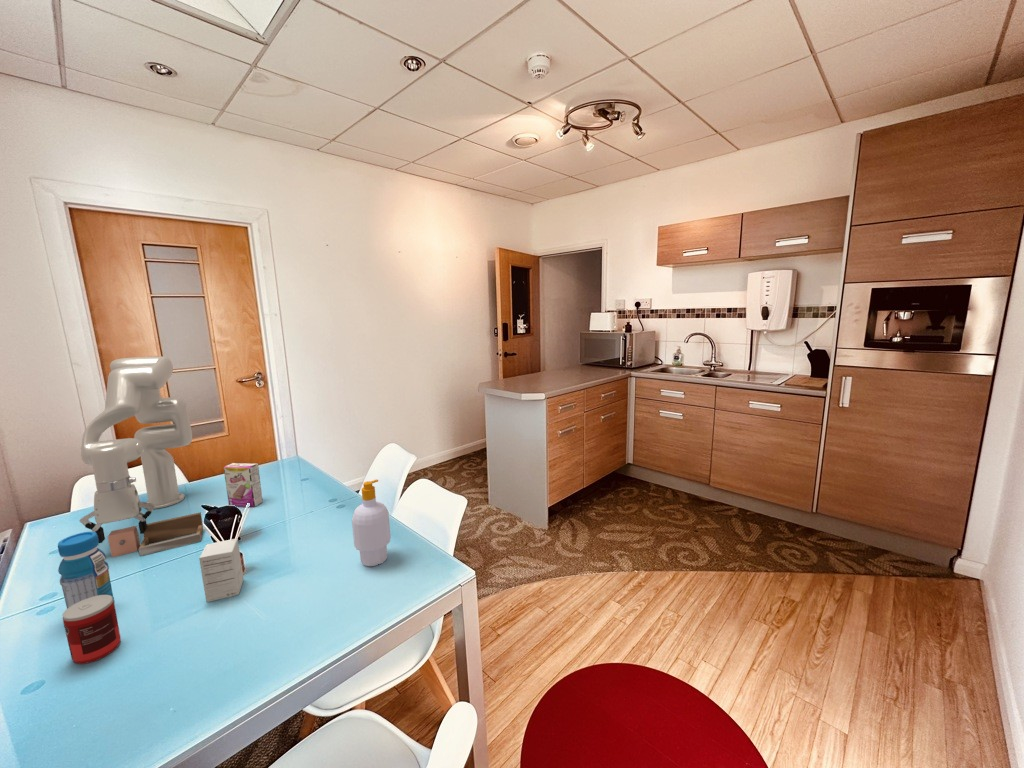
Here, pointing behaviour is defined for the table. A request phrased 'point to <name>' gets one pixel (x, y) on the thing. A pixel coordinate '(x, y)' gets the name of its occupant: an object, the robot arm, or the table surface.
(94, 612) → the canned food
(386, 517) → the soap bottle
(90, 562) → the beverage bottle
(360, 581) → the table surface
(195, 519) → the board
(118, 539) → the salmon pink block
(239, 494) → the candy bar box
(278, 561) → the table surface
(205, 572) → the supplement box
